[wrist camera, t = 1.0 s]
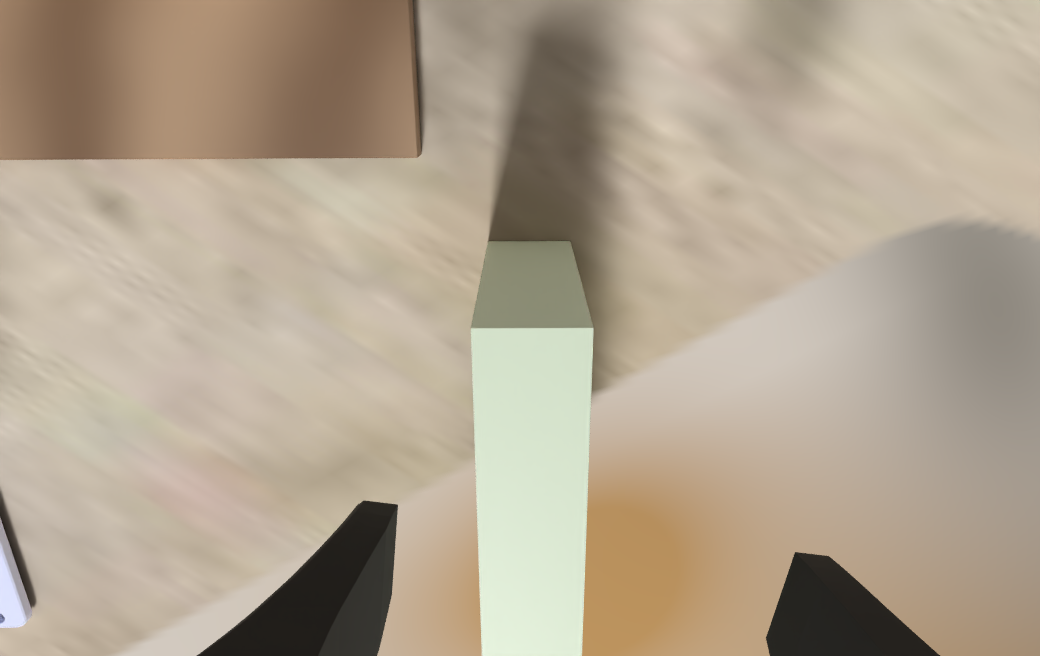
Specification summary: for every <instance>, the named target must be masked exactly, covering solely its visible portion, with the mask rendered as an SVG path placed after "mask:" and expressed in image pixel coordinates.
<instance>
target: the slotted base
mask: <svg viewBox="0 0 1040 656" xmlns="http://www.w3.org/2000/svg"><path fill="white" fill-rule="evenodd" d="M420 155H421V138H420V121H419V103H418V85H417V68H416V50H415V33H414V15H413V0H0V160H54V159H248V158H417V157H418V156H420Z"/></svg>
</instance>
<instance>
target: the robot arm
mask: <svg viewBox="0 0 1040 656" xmlns="http://www.w3.org/2000/svg"><path fill="white" fill-rule="evenodd" d="M397 510H398V505H396V504H388V503H380V502H371V501H363V502H361V503H360V504H358V505H357V506H356V508H355V509H354V510H353V511H352V512H351V514H350V515H349V516H348V517H347V518H346V520H345V521H344V522H343V523H342V524H341V525H340V527H339V528H338V529H337V530H336V531H335V532H334V533H333V534H332V535H331V537H330V538H329V539H328V540H327V541H326V542H325V543H324V544H323V545H322V546H321V547H320V548H319V549H318V550H317V551H316V552H315V553H314V554H313V556H311V558H310V559H309V560H308V561H307V562H306V563H305V564H304V565H303V566H302V567H301V568H300V569H299V570H298V571H297V572H296V573H295V574H294V575H293V576H292V577H291V578H290V579H288V581H286V582H285V583H284V584H283V585H282V586H281V587H280V588H279V589H278V590H277V591H275V592H274V593H273V594H272V595H271V596H270V597H269V598H268V599H266V600H265V601H264V602H263V603H262V604H261V605H260V606H259V607H258V608H257V609H255V610H254V611H253V612H252V613H251V614H250V615H248V616H247V617H246V618H245V619H244V620H242V621H241V622H240V623H239V624H238V625H236V626H235V627H234V628H233V629H232V630H230V631H229V632H228V633H226V634H225V635H224V636H222V637H221V638H220V639H218V640H217V641H216V642H215V643H213V644H212V645H211V646H209V647H208V648H207V649H205V650H204V651H203V652H201V653H200V654H199V655H197V656H377V653H378V651H379V647H380V643H381V639H382V635H383V630H384V626H385V622H386V618H387V613H388V609H389V604H390V600H391V595H392V582H393V569H394V553H395V538H396V525H397ZM31 616H32V610H31V607H30V604H29V601H28V598H27V595H26V592H25V589H24V586H23V583H22V580H21V577H20V574H19V571H18V568H17V566H16V563H15V560H14V557H13V554H12V551H11V548H10V545H9V542H8V539H7V536H6V533H5V530H4V527H3V524H2V521H1V518H0V628H1V627H21V626H23V625H24V624H25V623H26V622H27V621H28V620H29V619H30V618H31ZM766 640H767V644H768V649H769V654H770V656H940V655H938V654H937V653H936V652H935V651H934V650H933V649H931V647H929V646H928V645H927V644H926V643H925V642H924V641H923V640H922V639H920V638H919V637H918V636H917V635H916V634H915V633H914V632H912V630H910V629H909V628H908V627H907V626H906V625H905V624H904V623H903V622H902V621H901V620H899V619H898V618H897V617H896V616H895V615H894V614H893V613H892V612H891V611H889V610H888V609H887V608H886V607H885V606H884V605H883V604H882V603H881V602H880V601H879V600H878V599H877V598H875V597H874V596H873V595H872V594H871V593H870V592H869V591H868V590H867V589H865V587H863V586H862V585H861V584H860V583H859V582H858V581H857V580H856V579H855V578H853V577H852V576H851V575H850V574H849V573H848V572H847V571H845V570H844V569H843V568H842V567H841V566H840V565H839V564H837V563H836V562H835V561H834V560H833V559H831V558H830V557H829V556H822V555H814V554H806V553H798V552H795V554H794V557H793V560H792V563H791V566H790V569H789V572H788V575H787V578H786V581H785V584H784V587H783V590H782V593H781V596H780V599H779V601H778V605H777V607H776V610H775V613H774V616H773V619H772V622H771V625H770V628H769V631H768V634H767V637H766Z"/></svg>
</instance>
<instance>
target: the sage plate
mask: <svg viewBox="0 0 1040 656" xmlns="http://www.w3.org/2000/svg"><path fill="white" fill-rule="evenodd" d="M593 329H594V328H593V324H592V320H591V317H590V313H589V309H588V305H587V302H586V298H585V294H584V290H583V287H582V283H581V279H580V275H579V271H578V268H577V264H576V260H575V256H574V253H573V249H572V245H571V241H488V244H487V249H486V254H485V259H484V265H483V270H482V275H481V280H480V285H479V290H478V295H477V300H476V305H475V310H474V315H473V320H472V325H471V348H472V377H473V406H474V436H475V465H476V493H477V521H478V552H479V582H480V611H481V640H482V656H582V635H583V606H584V579H585V550H586V523H587V495H588V468H589V440H590V439H589V438H590V412H591V411H590V410H591V384H592V357H593Z"/></svg>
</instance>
